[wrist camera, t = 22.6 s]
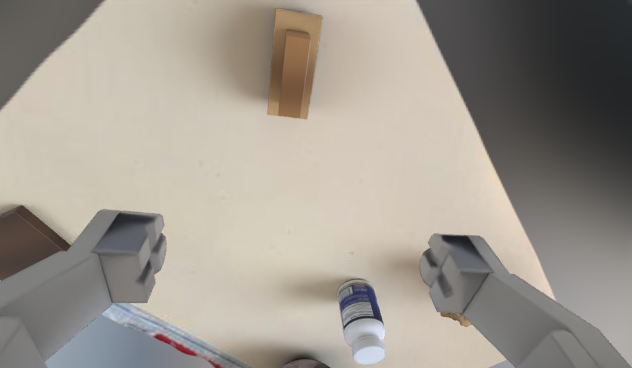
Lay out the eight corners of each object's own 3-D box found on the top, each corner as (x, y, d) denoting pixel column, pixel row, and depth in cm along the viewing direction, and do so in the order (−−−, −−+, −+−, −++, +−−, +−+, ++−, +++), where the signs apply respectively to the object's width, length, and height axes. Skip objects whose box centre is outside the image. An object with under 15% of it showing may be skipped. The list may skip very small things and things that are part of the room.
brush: (276, 5, 27) (274, 13, 22) (319, 13, 27) (326, 22, 22) (268, 104, 31) (265, 128, 26) (305, 108, 32) (309, 133, 27)
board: (-47, 235, 37) (-57, 243, 36) (22, 205, 35) (14, 211, 34) (28, 287, 42) (22, 295, 41) (91, 262, 40) (86, 269, 39)
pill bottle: (373, 299, 49) (390, 365, 41) (337, 304, 49) (348, 370, 41) (373, 275, 46) (392, 341, 38) (336, 280, 46) (346, 347, 38)
